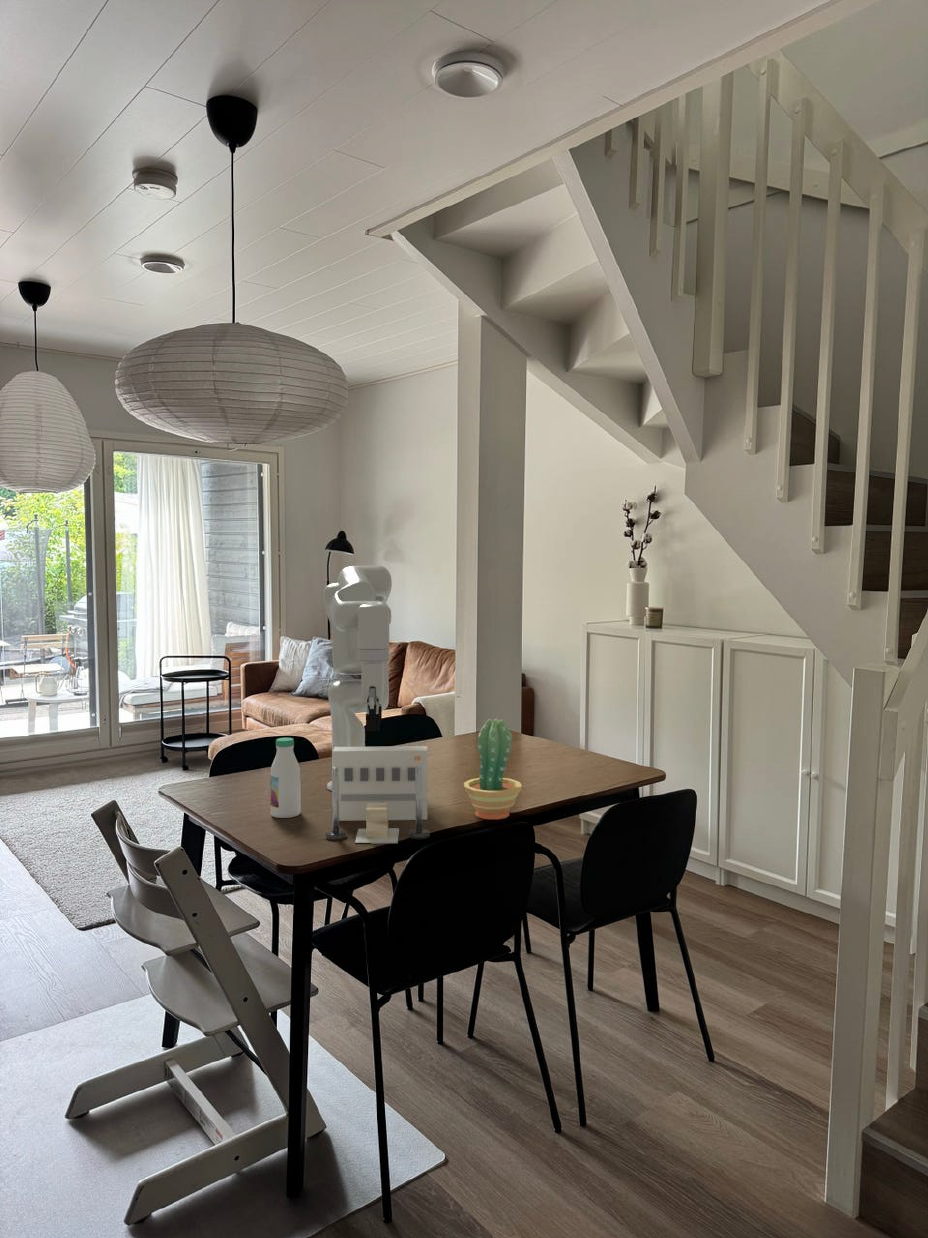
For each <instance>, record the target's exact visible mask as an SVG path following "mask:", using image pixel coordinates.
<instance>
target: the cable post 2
mask: <svg viewBox="0 0 928 1238" xmlns="http://www.w3.org/2000/svg"><path fill="white" fill-rule="evenodd" d="M415 786H416V820H415V828H414V829H410V830H409V831H408V838H409V837H410V839H412V840H425V839H428V838H430V834H431V833H430V830H428V829H427V828H426V829H425V828H423V820H422V766H416V767H415Z"/></svg>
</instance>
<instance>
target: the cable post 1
mask: <svg viewBox="0 0 928 1238" xmlns="http://www.w3.org/2000/svg"><path fill="white" fill-rule="evenodd" d="M331 781H332V791H331V808H332V809H331V812H332V813H331V814H332V815H331V817H332V818H331V820H332V821H331V823H332V824H331V825H332V826H331V827H332V830H328V831H326V832H324V833H325V836H324V837H325V838H324V839H325V840H327V839H329V840H328V841H332V840H337V841H341V840H340V839H343V840H345V839H346V838H347V831H346V830H344V829H343V830H342V829H340V821H339V769H338V767H332V766H331ZM345 837H346V838H345ZM344 838H345V839H344Z"/></svg>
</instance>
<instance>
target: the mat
mask: <svg viewBox="0 0 928 1238" xmlns="http://www.w3.org/2000/svg"><path fill="white" fill-rule="evenodd" d="M399 834H400V827H398V828H397V827H396V828H395V827H394V828H391V827H390V828H389V827H388V838H366V828H358V829H357V833H356V836H355V841H354V844H355V843H371V844H373V845H374V844H398V842H399V836H400V835H399ZM371 844H370V845H371Z"/></svg>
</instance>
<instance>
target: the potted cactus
mask: <svg viewBox="0 0 928 1238" xmlns="http://www.w3.org/2000/svg"><path fill="white" fill-rule="evenodd" d="M512 739H513V734H512V732H511V731H510V729H509V727H508V726H507V723H505V721H504V720H503V719H498V718H494V719H491V718H488V719H487V720H486V722H485V723H484V724H483V726H482V727H481V729H480V731H479V733H478V735H477V746H478V747H477V748H478V750H477V751H478V754H479V755H478V756H479V760H480V766H479V767H480V769H479V777H477V778H472V779H468V780H466V781H465V782H463V786H464V787H463V788H464V791H465V793H467V795H468V797H469V800H470V804H471V805H472V806H473V808H474V809H475V816H476V817H478V818H480V819H485V820H501V819H502V820H503V819H507V818H508V817H510V812H509V811H510V810H511V809H512V807H513V806H514V804H515V803H516V801H517V797H518V795H519V794H520V793H521V791H522V786H523V785H522V783H521V782H520V781H518V780H515V779H512V778H509V777H507V778H506V777H504V774H505V771H506V765H507V760H508V758H509V755H510V753H511V751H512V743H513V742H512V741H513V740H512Z"/></svg>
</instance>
